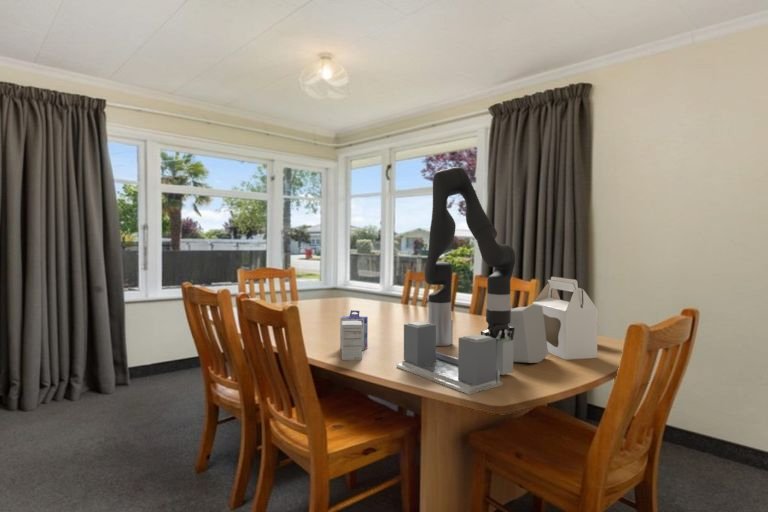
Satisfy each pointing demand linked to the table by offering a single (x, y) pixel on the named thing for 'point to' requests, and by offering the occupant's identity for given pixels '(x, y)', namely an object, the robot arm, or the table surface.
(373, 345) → the table surface
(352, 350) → the supplement box
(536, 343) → the electrical switch box
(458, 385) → the rail base
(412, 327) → the block
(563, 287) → the gable box
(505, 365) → the block
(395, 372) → the table surface
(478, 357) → the block
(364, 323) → the ink cartridge box
